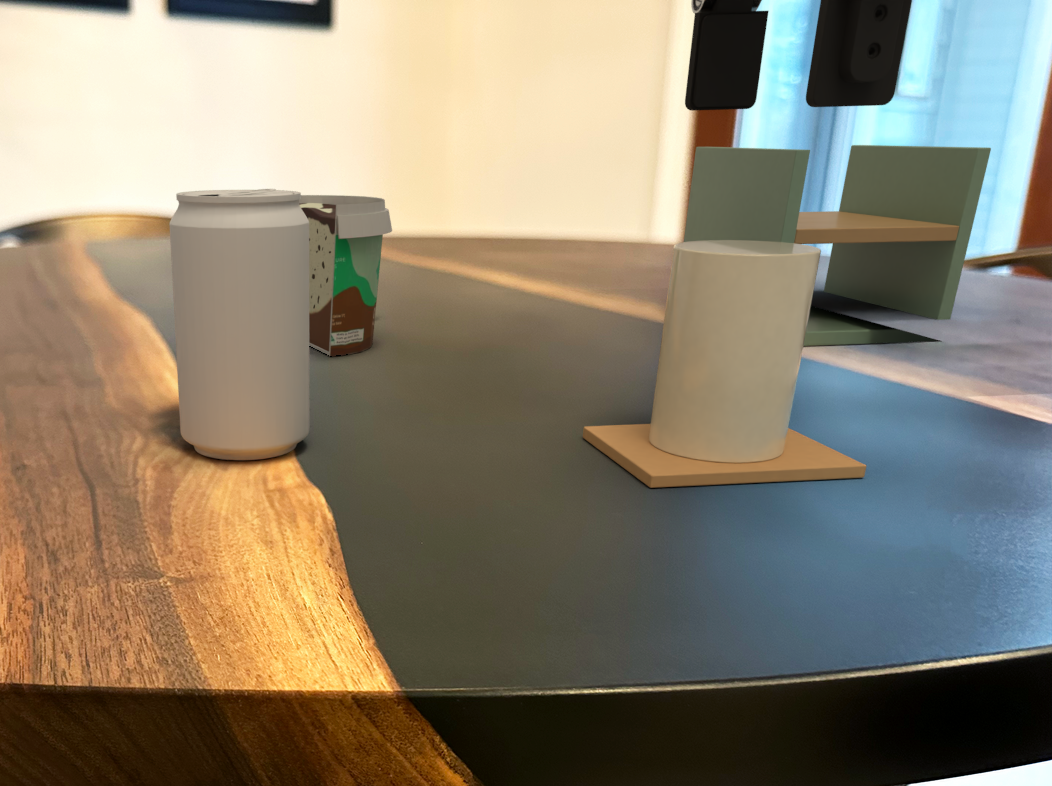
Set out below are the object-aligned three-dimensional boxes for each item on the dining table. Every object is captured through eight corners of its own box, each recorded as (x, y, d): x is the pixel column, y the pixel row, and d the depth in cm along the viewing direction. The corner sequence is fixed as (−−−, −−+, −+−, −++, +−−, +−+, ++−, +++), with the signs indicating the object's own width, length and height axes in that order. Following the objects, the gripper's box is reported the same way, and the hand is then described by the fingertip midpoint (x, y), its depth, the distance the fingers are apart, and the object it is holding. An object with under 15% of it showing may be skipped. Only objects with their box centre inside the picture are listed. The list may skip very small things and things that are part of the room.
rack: (830, 310, 86) (862, 145, 81) (945, 341, 73) (992, 147, 68) (673, 314, 85) (696, 146, 80) (762, 347, 72) (796, 149, 67)
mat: (768, 429, 52) (770, 418, 52) (864, 478, 45) (867, 465, 45) (581, 437, 51) (583, 426, 51) (650, 488, 44) (651, 475, 44)
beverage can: (168, 436, 52) (152, 188, 48) (285, 423, 54) (281, 185, 50) (200, 471, 47) (187, 195, 42) (329, 456, 49) (330, 191, 44)
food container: (419, 353, 71) (425, 202, 67) (338, 360, 69) (339, 205, 65) (347, 324, 82) (348, 192, 78) (275, 330, 80) (273, 195, 76)
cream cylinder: (742, 425, 51) (773, 238, 48) (810, 460, 46) (851, 252, 42) (628, 430, 50) (650, 241, 47) (683, 466, 45) (714, 255, 41)
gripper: (1173, -576, 28) (1016, 101, 35) (813, -324, 44) (753, 108, 51) (921, -586, 27) (811, 107, 34) (647, -327, 43) (609, 112, 50)
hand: (777, 107), depth 43 cm, fingers open, 9 cm apart
